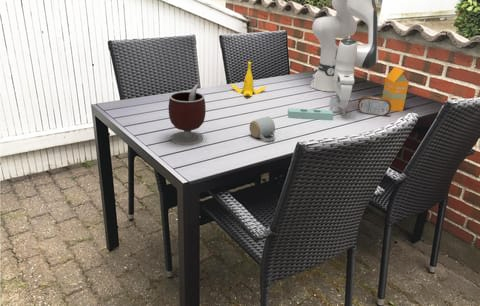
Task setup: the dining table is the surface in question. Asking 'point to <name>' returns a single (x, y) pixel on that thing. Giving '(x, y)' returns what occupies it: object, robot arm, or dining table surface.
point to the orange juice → (396, 89)
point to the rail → (310, 114)
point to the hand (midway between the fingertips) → (339, 104)
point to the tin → (374, 105)
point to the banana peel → (248, 84)
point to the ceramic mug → (263, 128)
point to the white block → (337, 104)
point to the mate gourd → (187, 116)
